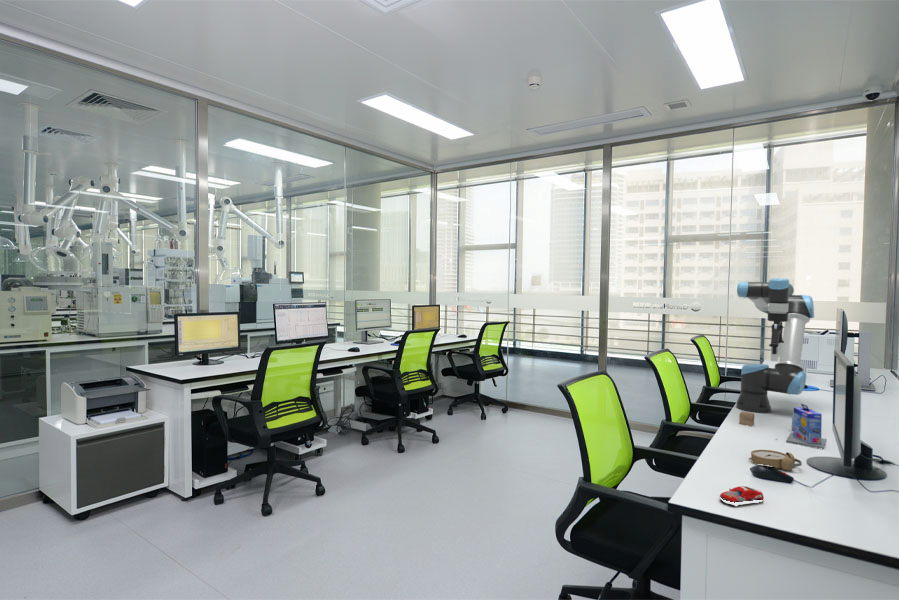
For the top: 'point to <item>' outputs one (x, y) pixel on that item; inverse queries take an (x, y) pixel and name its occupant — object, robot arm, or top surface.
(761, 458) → the alarm clock
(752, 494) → the race car
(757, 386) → the robot arm
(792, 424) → the slate cylinder
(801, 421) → the ink cartridge box
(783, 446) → the top surface
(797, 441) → the charcoal mat
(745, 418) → the walnut cube
